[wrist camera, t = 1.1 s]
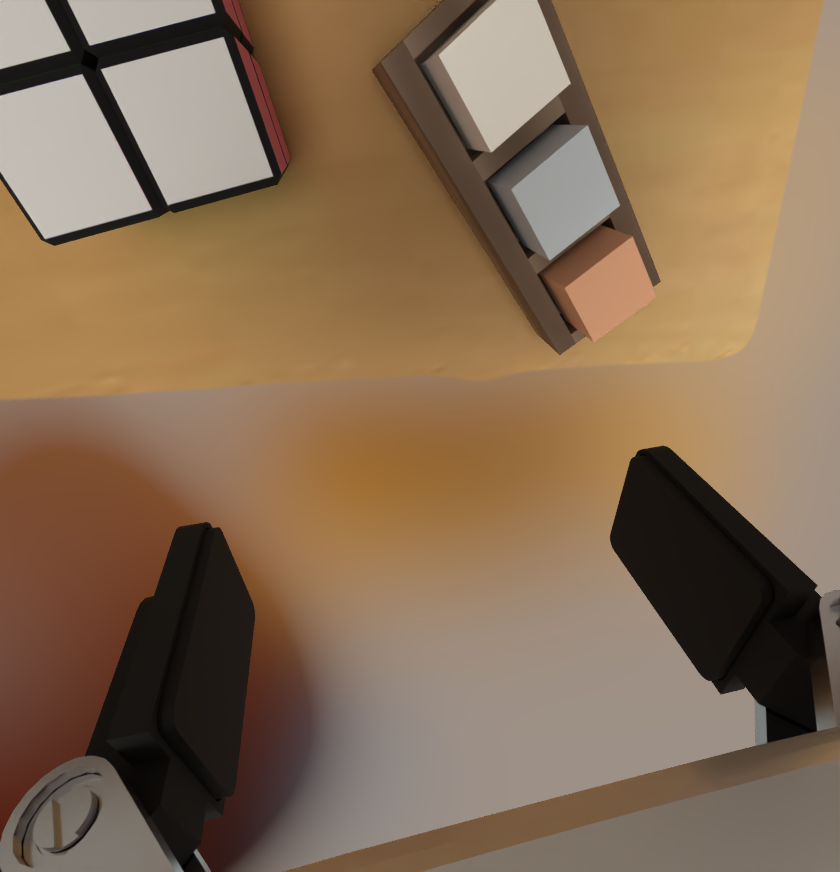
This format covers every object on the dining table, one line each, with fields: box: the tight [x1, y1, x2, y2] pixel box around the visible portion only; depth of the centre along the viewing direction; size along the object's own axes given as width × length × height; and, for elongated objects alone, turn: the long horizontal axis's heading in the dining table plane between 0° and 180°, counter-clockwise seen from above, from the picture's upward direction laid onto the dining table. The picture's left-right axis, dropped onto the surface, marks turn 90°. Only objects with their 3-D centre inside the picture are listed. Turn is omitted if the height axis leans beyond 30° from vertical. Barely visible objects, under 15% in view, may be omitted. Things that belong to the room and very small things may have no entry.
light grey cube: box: [487, 125, 620, 261], centre depth 26 cm, size 4×4×4 cm
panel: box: [372, 0, 661, 355], centre depth 28 cm, size 8×20×4 cm, turn 37°
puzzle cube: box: [0, 0, 291, 246], centre depth 20 cm, size 10×10×10 cm
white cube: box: [421, 0, 571, 152], centre depth 22 cm, size 4×4×4 cm
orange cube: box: [539, 225, 657, 342], centre depth 29 cm, size 4×4×4 cm
